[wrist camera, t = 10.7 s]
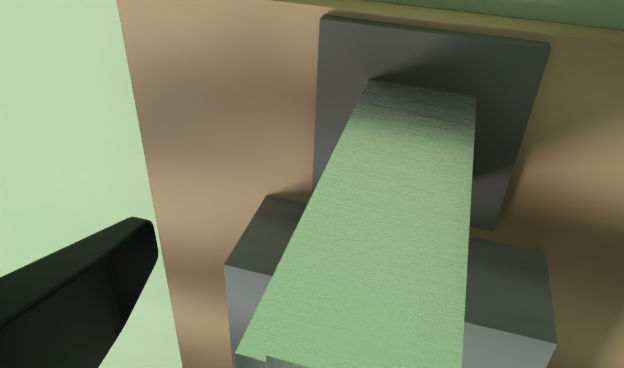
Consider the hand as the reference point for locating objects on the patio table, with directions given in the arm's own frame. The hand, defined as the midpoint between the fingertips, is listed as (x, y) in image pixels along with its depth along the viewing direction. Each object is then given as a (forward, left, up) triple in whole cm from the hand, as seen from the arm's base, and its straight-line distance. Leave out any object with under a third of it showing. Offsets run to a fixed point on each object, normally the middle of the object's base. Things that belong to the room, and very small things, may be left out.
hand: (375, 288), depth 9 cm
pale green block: (0, 0, -6) cm, 6 cm away
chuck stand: (-9, 0, -8) cm, 11 cm away
